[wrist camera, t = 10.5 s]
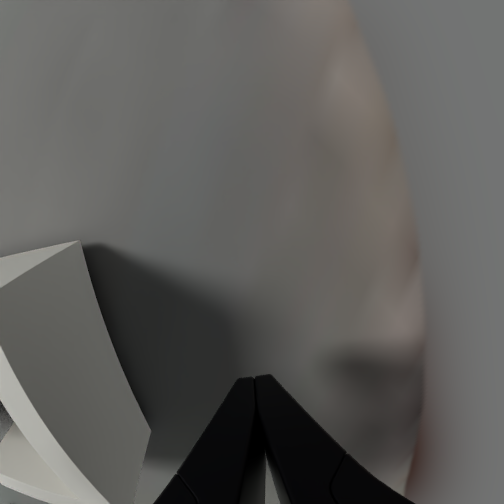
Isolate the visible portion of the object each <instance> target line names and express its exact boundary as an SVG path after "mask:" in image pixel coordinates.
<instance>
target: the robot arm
mask: <svg viewBox="0 0 504 504" xmlns="http://www.w3.org/2000/svg"><path fill="white" fill-rule="evenodd" d="M265 452H266V455H265ZM266 456H267V460H268V464H269V468H270V471H271V475H272V478H273V481H274V485H275V488H276V491H277V494H278V498H279V501H280V504H415V503H413V502H412V501H410V500H408V499H407V498H405V497H404V496H402V495H400V494H399V493H397V492H396V491H394V490H393V489H391V488H390V487H388V486H387V485H385V484H384V483H383V482H381V481H380V480H378V479H377V478H376V477H374V476H373V475H372V474H371V473H370V472H368V471H367V470H366V469H365V468H364V467H363V466H361V465H360V464H359V463H358V462H357V461H356V460H355V459H354V458H353V457H352V456H351V455H350V454H346V451H345V450H344V449H343V448H342V447H341V446H340V445H339V444H338V443H337V442H336V441H335V440H334V439H333V438H332V437H331V436H330V435H329V434H328V433H327V432H326V431H325V430H324V429H323V428H322V427H321V426H320V425H319V424H318V423H317V422H316V421H315V420H314V419H313V418H312V417H311V416H310V415H309V414H308V413H307V412H306V411H305V410H304V409H303V408H302V407H301V406H300V405H299V404H298V402H297V401H296V400H295V399H294V398H293V397H292V396H291V395H290V394H289V393H288V392H287V391H286V390H285V389H284V388H283V387H282V385H281V384H280V383H279V382H278V381H277V380H276V379H275V378H274V377H273V376H272V375H271V374H267V375H260V376H256V377H255V379H254V378H253V377H245V378H239V379H237V380H236V382H235V383H234V385H233V387H232V388H231V390H230V391H229V393H228V395H227V396H226V398H225V399H224V401H223V403H222V404H221V406H220V407H219V409H218V410H217V412H216V414H215V415H214V417H213V418H212V420H211V421H210V423H209V424H208V426H207V428H206V429H205V431H204V432H203V434H202V435H201V437H200V438H199V440H198V441H197V443H196V444H195V446H194V447H193V449H192V450H191V452H190V453H189V455H188V456H187V458H186V459H185V461H184V462H183V464H182V465H181V467H180V468H179V469H178V471H177V474H178V475H177V474H175V475H174V476H173V478H172V479H171V481H170V482H169V484H168V485H167V486H166V488H165V489H164V490H163V492H162V493H161V494H160V496H159V497H158V498H157V499H156V501H155V502H154V503H153V504H265V476H266Z"/></svg>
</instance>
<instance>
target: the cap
mask: <svg viewBox="0 0 504 504" xmlns="http://www.w3.org/2000/svg"><path fill="white" fill-rule="evenodd" d="M0 401H1V402H2V404H3V405H4V407H5V408H6V410H7V412H8V413H9V415H10V416H11V418H12V419H13V421H14V423H13V424H12V426H11V427H10V429H9V430H8V432H7V433H6V435H5V436H4V438H3V439H2V441H1V443H0V483H1V484H2V485H4V486H6V487H8V488H11V489H13V490H15V491H18V492H20V493H23V494H25V495H28V496H31V497H33V498H36V499H39V500H42V501H45V502H48V503H51V504H134V499H135V495H136V491H137V486H138V482H139V478H140V474H141V470H142V466H143V462H144V458H145V454H146V450H147V446H148V442H149V438H150V434H151V429H150V427H149V425H148V423H147V421H146V419H145V417H144V415H143V413H142V411H141V409H140V407H139V405H138V403H137V401H136V399H135V397H134V395H133V392H132V390H131V388H130V386H129V383H128V381H127V379H126V377H125V374H124V372H123V370H122V367H121V365H120V362H119V360H118V357H117V355H116V352H115V350H114V347H113V345H112V342H111V339H110V337H109V334H108V331H107V328H106V326H105V323H104V320H103V317H102V314H101V311H100V308H99V305H98V302H97V299H96V296H95V292H94V289H93V286H92V283H91V279H90V276H89V272H88V269H87V265H86V261H85V257H84V254H83V250H82V246H81V241H80V240H78V241H73V242H68V243H63V244H59V245H54V246H49V247H45V248H40V249H36V250H31V251H27V252H22V253H18V254H14V255H9V256H5V257H1V258H0Z"/></svg>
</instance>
